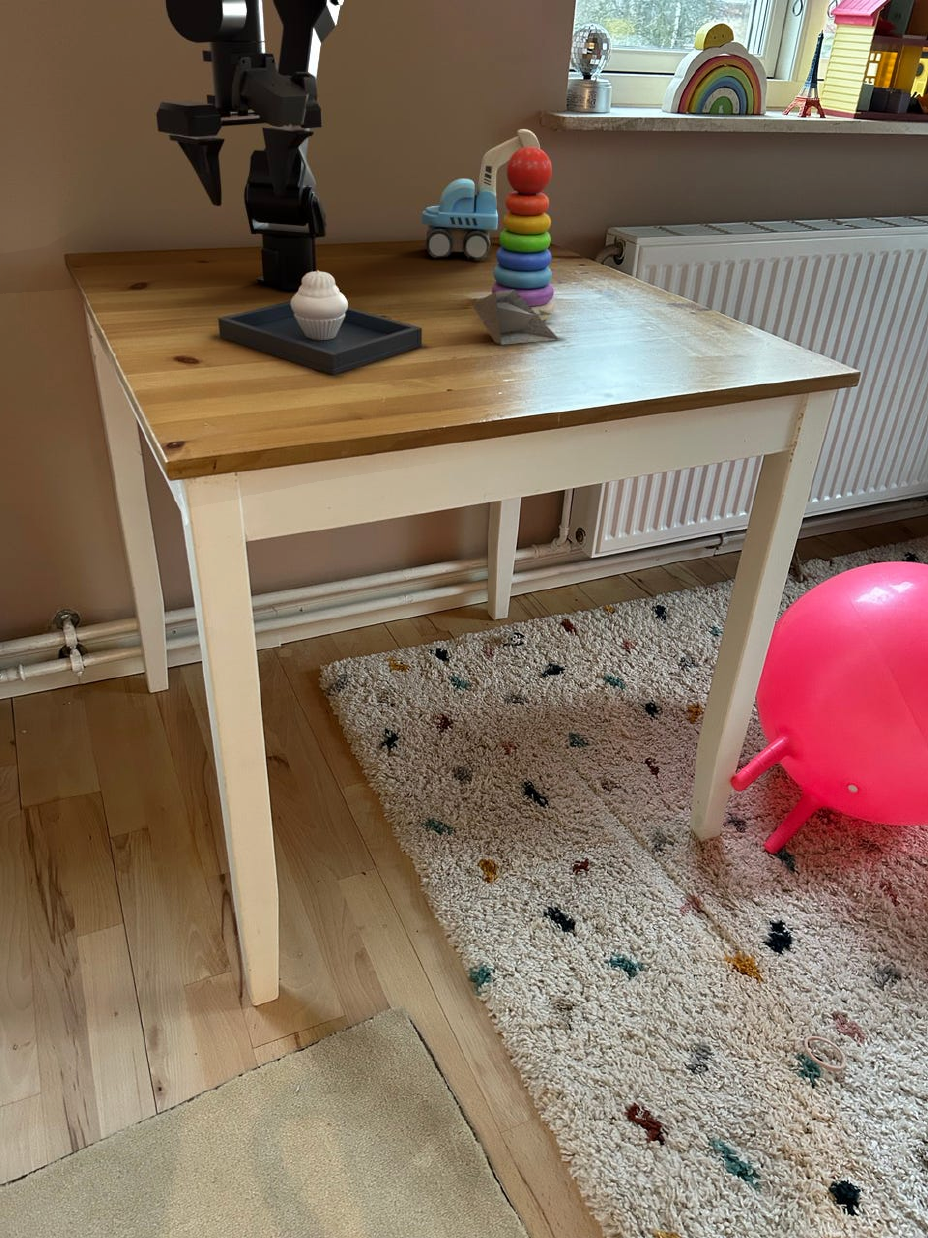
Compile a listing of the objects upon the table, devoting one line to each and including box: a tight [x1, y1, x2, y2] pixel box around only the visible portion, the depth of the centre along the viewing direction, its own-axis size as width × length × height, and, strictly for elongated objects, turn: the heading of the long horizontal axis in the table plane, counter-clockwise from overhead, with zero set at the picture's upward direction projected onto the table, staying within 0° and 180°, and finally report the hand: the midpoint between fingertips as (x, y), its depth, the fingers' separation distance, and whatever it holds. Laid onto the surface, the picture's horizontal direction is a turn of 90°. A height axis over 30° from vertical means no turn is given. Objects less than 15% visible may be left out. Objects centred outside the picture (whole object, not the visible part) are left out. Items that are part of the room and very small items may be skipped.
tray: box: [217, 300, 423, 376], centre depth 104 cm, size 14×18×2 cm
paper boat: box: [472, 290, 560, 346], centre depth 106 cm, size 12×6×9 cm
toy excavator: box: [421, 128, 541, 262], centre depth 139 cm, size 9×17×17 cm, turn 89°
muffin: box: [290, 269, 349, 340], centre depth 102 cm, size 6×6×7 cm
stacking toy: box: [491, 147, 555, 322], centre depth 112 cm, size 8×8×19 cm
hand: (249, 200), depth 108 cm, fingers open, 9 cm apart
